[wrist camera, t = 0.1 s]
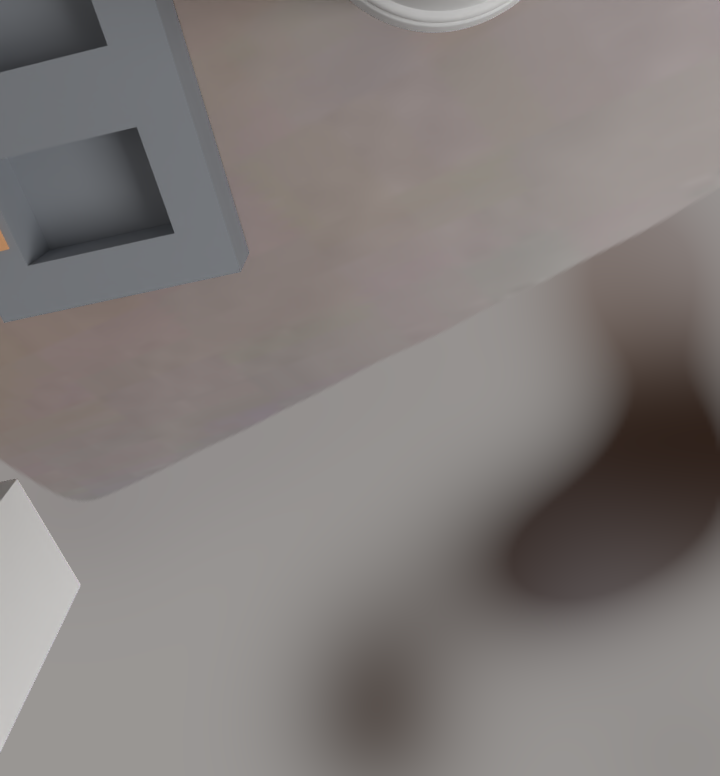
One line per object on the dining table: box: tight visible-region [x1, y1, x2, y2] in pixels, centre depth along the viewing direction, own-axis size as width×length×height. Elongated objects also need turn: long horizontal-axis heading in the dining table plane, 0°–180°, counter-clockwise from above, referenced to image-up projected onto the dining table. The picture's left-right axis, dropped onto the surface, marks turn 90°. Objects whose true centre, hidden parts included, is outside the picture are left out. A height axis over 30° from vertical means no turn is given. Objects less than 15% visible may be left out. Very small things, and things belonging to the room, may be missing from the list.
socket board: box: [0, 0, 249, 323], centre depth 32 cm, size 20×14×4 cm
